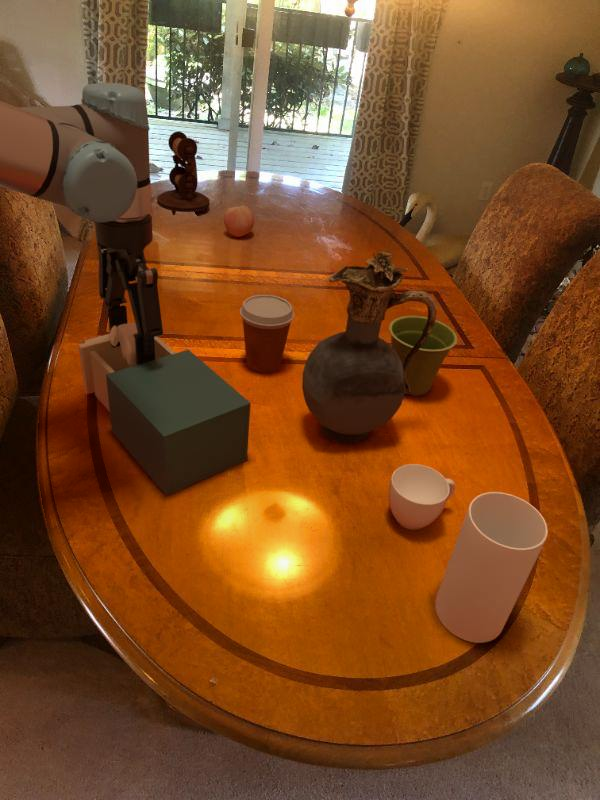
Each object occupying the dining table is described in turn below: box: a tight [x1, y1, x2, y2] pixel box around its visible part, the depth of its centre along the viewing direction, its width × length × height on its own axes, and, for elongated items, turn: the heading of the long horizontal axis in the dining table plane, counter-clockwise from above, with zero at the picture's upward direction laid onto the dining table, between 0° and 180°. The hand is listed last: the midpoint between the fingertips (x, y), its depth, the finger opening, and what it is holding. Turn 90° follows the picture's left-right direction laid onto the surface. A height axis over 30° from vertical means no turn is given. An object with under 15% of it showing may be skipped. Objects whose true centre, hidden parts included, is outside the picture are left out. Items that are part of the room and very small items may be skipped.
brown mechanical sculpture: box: [156, 131, 211, 216], centre depth 171 cm, size 15×15×20 cm
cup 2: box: [434, 491, 549, 644], centre depth 69 cm, size 8×8×16 cm
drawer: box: [78, 333, 176, 413], centre depth 98 cm, size 21×12×9 cm, turn 40°
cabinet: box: [106, 349, 251, 497], centre depth 90 cm, size 17×14×11 cm
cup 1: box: [388, 463, 456, 531], centre depth 84 cm, size 8×10×7 cm
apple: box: [223, 204, 255, 238], centre depth 162 cm, size 8×8×8 cm
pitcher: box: [301, 251, 438, 444], centre depth 92 cm, size 11×19×30 cm, turn 104°
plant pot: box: [388, 315, 458, 396], centre depth 110 cm, size 12×12×11 cm
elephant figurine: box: [109, 321, 138, 366], centre depth 94 cm, size 7×8×6 cm
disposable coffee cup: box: [239, 294, 295, 374], centre depth 111 cm, size 10×10×12 cm
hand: (132, 356), depth 96 cm, fingers closed on elephant figurine, 8 cm apart
